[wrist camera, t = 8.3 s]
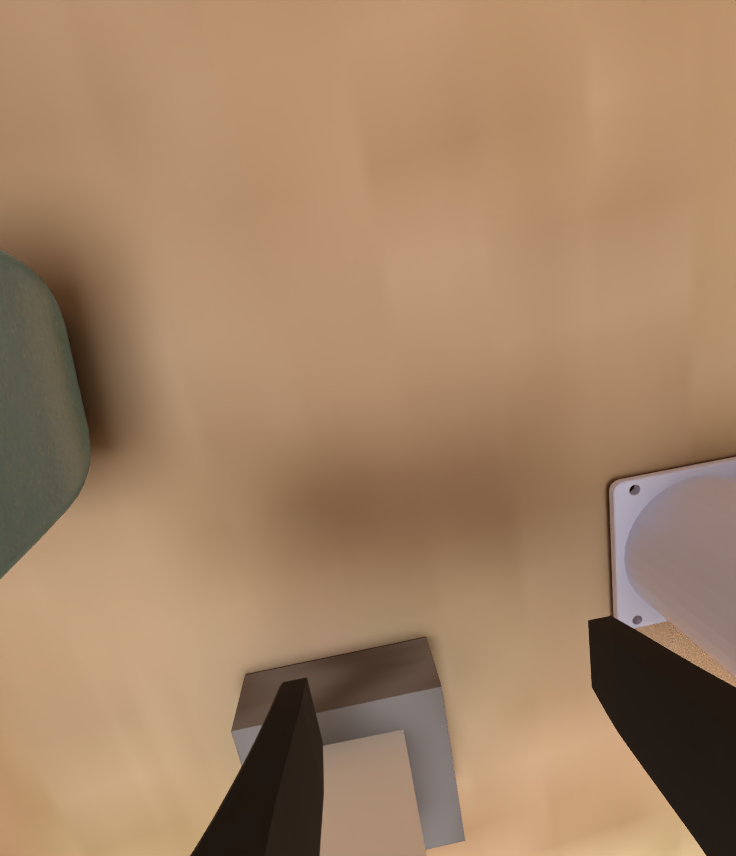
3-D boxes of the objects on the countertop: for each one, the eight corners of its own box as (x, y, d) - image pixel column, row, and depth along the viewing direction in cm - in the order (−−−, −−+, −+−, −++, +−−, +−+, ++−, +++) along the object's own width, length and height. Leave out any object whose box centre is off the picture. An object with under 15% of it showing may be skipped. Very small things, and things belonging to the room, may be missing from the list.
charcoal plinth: (426, 637, 21) (441, 686, 18) (448, 776, 23) (465, 840, 20) (245, 674, 21) (231, 731, 18) (284, 813, 23) (277, 883, 20)
